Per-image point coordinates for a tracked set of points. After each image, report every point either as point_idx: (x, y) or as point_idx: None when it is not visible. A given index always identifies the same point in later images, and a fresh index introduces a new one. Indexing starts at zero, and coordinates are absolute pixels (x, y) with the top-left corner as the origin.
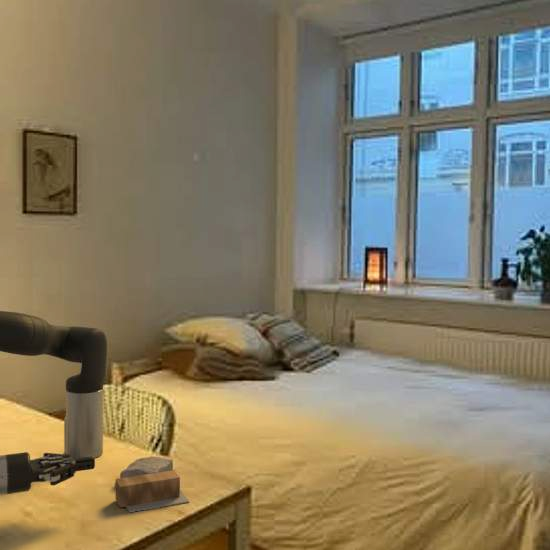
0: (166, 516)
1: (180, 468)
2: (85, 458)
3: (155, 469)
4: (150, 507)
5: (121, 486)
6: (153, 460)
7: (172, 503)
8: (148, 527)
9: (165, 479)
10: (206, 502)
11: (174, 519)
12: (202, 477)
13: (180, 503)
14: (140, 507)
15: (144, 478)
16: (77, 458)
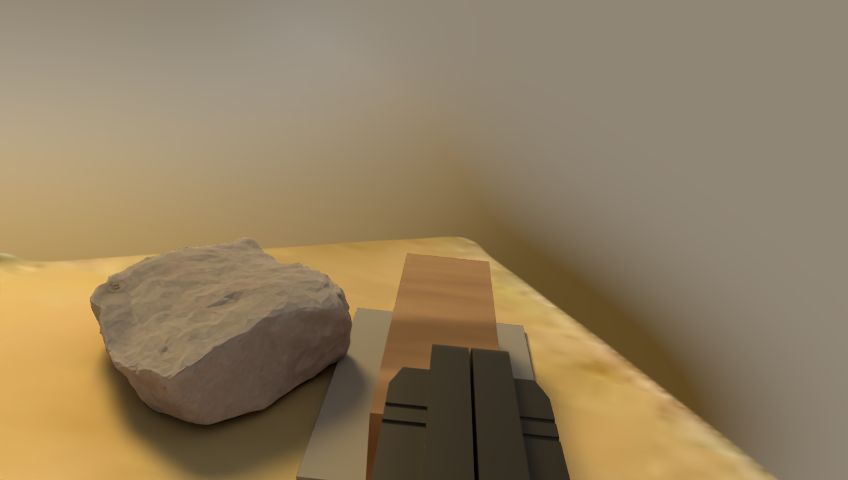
0: (626, 409)
1: None
2: (469, 396)
3: (327, 282)
4: None
5: None
6: (198, 265)
7: (524, 360)
8: None
9: (490, 288)
10: (536, 305)
11: (659, 399)
12: (346, 259)
13: (525, 346)
14: None
15: (441, 326)
16: (432, 462)
